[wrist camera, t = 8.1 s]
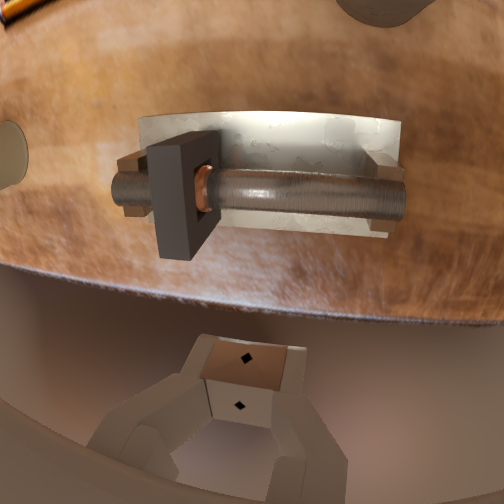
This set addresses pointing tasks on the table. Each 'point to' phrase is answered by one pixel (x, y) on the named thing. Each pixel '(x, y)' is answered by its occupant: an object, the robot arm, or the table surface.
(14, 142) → the can
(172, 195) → the collar
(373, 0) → the thermos bottle
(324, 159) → the rail
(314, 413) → the robot arm
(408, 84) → the table surface
